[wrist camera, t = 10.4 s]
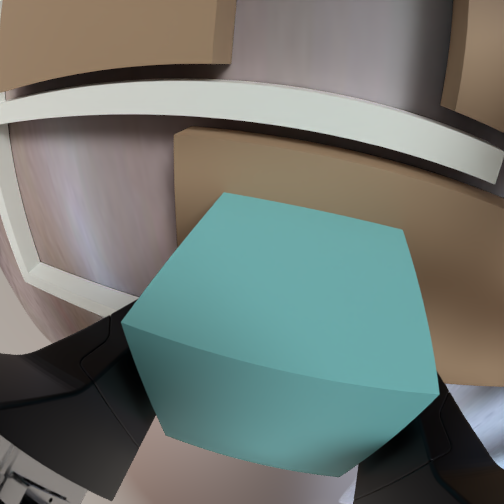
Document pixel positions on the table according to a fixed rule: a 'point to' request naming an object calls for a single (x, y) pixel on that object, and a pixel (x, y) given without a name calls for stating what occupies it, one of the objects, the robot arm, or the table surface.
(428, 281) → the strip
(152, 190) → the table surface
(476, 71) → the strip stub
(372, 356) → the cube
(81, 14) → the board
